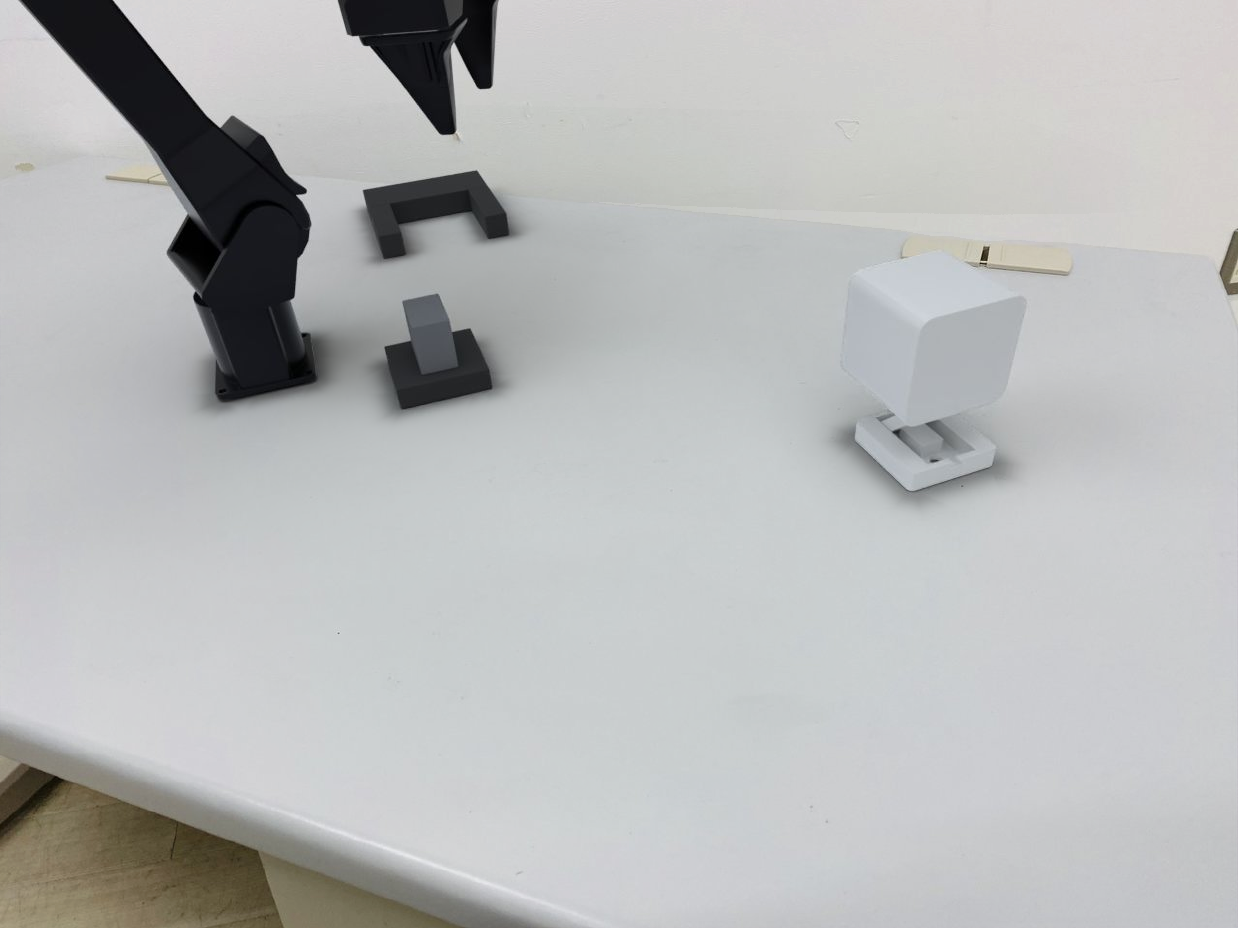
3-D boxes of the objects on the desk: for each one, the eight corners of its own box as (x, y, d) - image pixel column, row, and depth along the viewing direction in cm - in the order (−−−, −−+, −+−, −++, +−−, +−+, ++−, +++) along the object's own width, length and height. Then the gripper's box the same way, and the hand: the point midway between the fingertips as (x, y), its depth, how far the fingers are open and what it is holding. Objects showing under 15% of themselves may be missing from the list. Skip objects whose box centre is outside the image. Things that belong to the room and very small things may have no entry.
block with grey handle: (492, 388, 58) (481, 320, 55) (401, 409, 57) (384, 341, 54) (473, 346, 63) (462, 281, 60) (388, 365, 61) (372, 299, 58)
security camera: (922, 400, 54) (950, 246, 48) (1000, 463, 49) (1042, 299, 43) (831, 426, 53) (848, 270, 47) (902, 494, 47) (932, 329, 41)
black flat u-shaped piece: (509, 234, 78) (506, 212, 77) (383, 258, 75) (378, 236, 74) (480, 190, 87) (477, 170, 86) (367, 210, 85) (362, 189, 83)
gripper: (504, -161, 43) (553, 156, 53) (576, -194, 57) (603, 62, 67) (294, -137, 45) (378, 164, 55) (413, -174, 59) (463, 71, 69)
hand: (468, 110), depth 62 cm, fingers open, 9 cm apart
